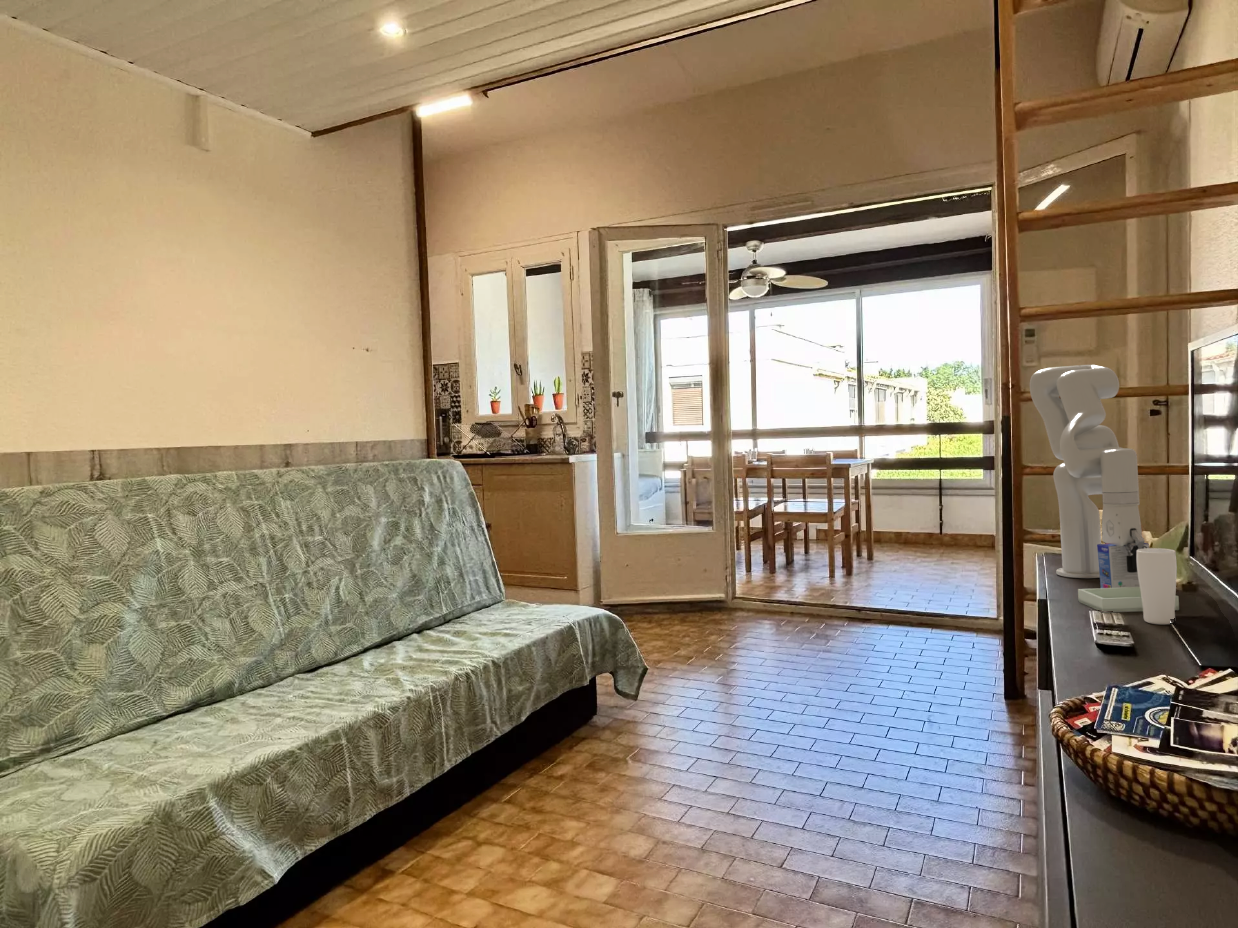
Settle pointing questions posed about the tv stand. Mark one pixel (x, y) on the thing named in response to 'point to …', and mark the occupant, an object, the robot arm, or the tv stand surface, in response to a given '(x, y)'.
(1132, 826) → the tv stand surface
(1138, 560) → the drinking glass
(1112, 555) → the ink cartridge box
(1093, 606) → the tray
